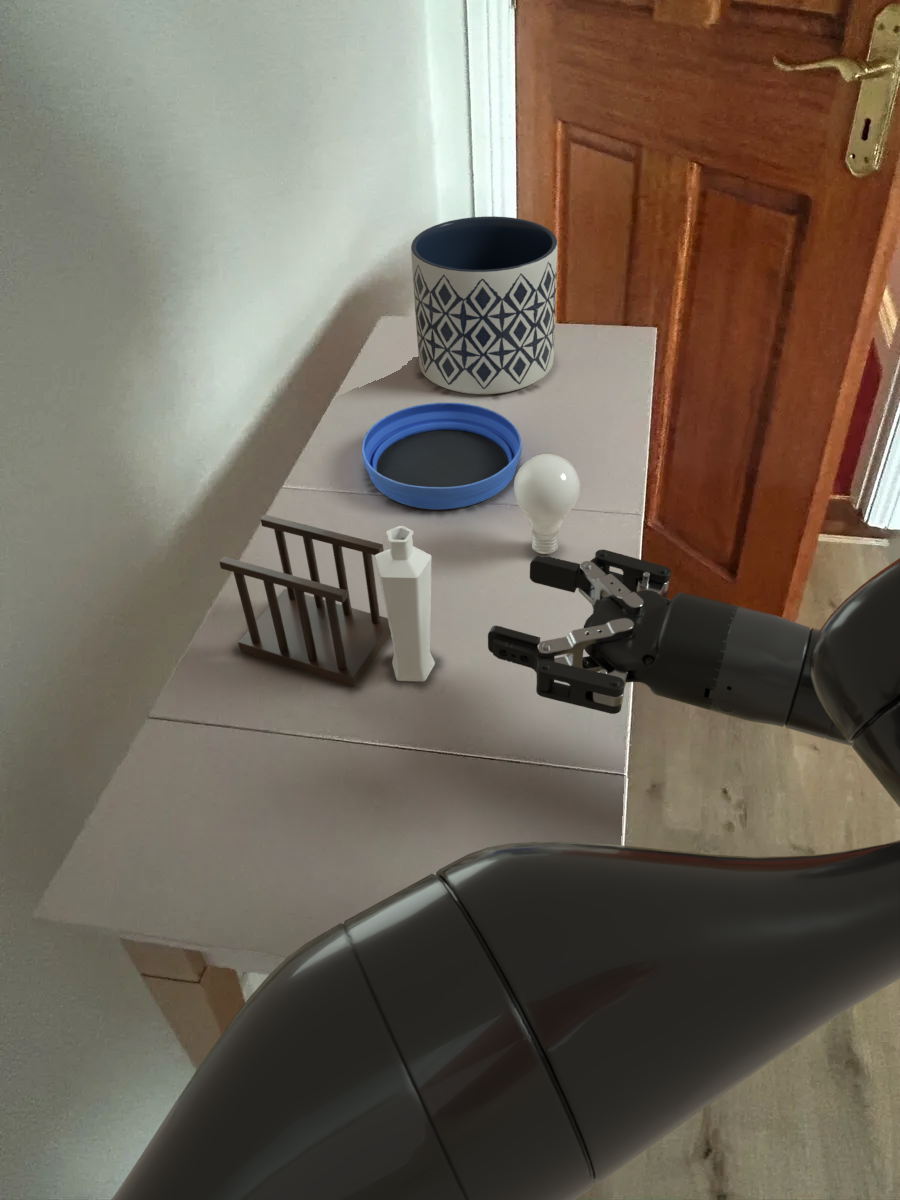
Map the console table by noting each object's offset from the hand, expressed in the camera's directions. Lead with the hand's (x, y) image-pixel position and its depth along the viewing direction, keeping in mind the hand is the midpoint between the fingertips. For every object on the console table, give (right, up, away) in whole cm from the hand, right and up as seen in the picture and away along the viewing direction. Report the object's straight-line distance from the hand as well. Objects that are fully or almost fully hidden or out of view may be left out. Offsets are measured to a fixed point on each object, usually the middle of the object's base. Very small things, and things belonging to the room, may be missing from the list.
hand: (511, 601), depth 68 cm
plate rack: (-17, -4, +16) cm, 24 cm away
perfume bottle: (-8, -6, +13) cm, 16 cm away
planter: (0, +32, +55) cm, 63 cm away
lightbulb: (+5, +5, +24) cm, 25 cm away
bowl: (-5, +15, +36) cm, 40 cm away
